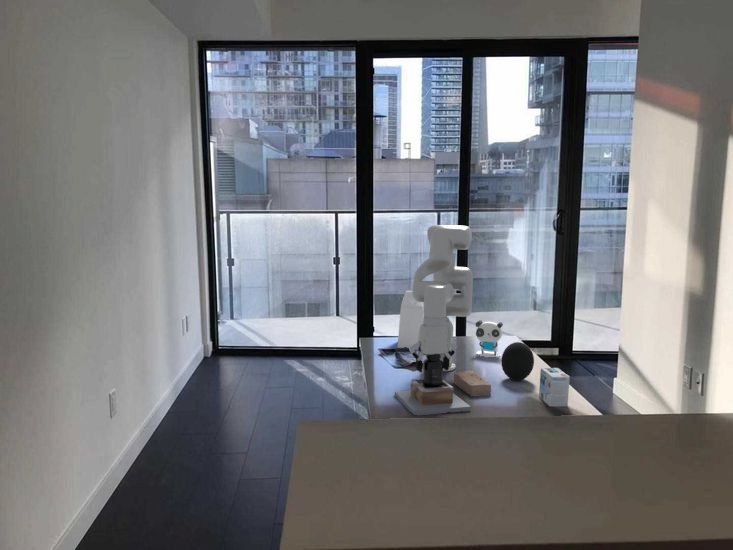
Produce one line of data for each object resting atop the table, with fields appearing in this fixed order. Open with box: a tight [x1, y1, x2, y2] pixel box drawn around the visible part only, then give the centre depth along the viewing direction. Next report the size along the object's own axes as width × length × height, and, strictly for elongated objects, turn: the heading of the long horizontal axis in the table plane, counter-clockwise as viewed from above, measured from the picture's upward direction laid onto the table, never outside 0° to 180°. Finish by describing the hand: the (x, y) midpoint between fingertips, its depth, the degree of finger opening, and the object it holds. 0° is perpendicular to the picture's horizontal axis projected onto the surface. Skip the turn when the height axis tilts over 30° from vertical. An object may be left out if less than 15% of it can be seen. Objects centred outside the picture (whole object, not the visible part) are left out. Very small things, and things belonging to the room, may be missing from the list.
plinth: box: [410, 378, 454, 405], centre depth 207 cm, size 11×11×6 cm
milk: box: [397, 290, 424, 349], centre depth 285 cm, size 12×12×26 cm
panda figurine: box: [475, 319, 504, 358], centre depth 272 cm, size 12×11×15 cm
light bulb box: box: [538, 367, 571, 407], centre depth 211 cm, size 11×7×11 cm, turn 5°
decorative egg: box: [500, 341, 535, 381], centre depth 235 cm, size 12×12×15 cm
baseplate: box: [394, 389, 472, 416], centre depth 207 cm, size 20×20×2 cm
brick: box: [453, 370, 492, 397], centre depth 224 cm, size 17×8×5 cm, turn 16°
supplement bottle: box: [422, 354, 444, 388], centre depth 206 cm, size 7×7×12 cm
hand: (432, 370), depth 206 cm, fingers open, 9 cm apart
